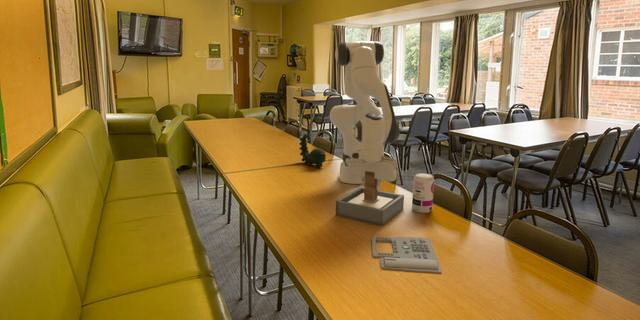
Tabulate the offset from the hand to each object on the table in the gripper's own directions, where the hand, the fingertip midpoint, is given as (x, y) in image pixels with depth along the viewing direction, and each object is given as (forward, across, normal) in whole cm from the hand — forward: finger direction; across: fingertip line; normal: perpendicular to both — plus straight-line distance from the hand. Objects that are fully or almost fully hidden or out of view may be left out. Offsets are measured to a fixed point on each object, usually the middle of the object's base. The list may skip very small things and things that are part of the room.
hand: (371, 188), depth 164 cm
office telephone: (+11, -25, +28) cm, 39 cm away
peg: (+5, 0, 0) cm, 5 cm away
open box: (+10, 0, 0) cm, 10 cm away
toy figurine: (+10, +62, -52) cm, 82 cm away
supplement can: (+10, -17, -14) cm, 24 cm away
